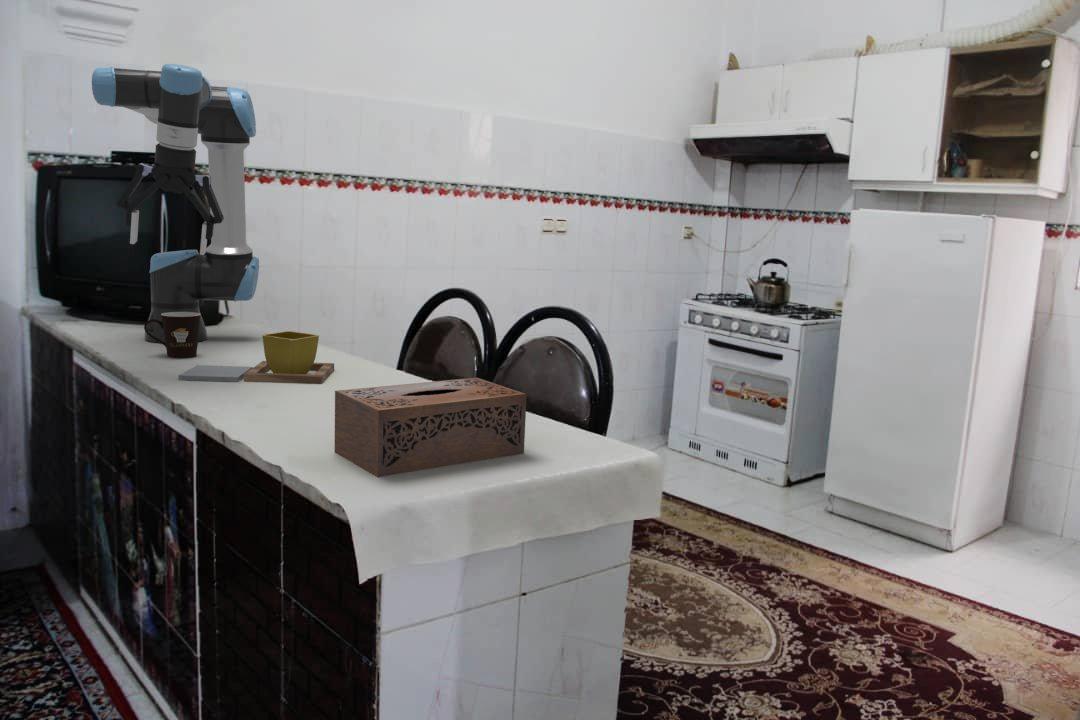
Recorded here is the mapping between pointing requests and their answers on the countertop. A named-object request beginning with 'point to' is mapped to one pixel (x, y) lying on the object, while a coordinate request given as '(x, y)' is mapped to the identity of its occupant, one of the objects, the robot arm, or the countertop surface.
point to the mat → (215, 373)
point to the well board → (260, 374)
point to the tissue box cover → (428, 425)
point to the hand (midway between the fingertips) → (168, 248)
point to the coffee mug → (179, 333)
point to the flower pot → (290, 351)
